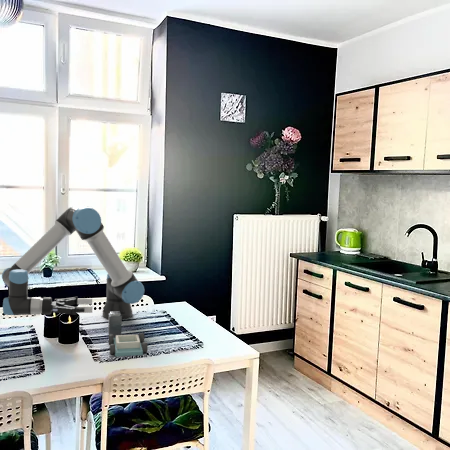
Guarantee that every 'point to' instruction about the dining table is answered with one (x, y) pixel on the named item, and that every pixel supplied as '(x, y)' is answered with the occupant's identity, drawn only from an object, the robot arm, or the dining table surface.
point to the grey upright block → (115, 323)
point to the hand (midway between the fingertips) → (92, 305)
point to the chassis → (127, 345)
